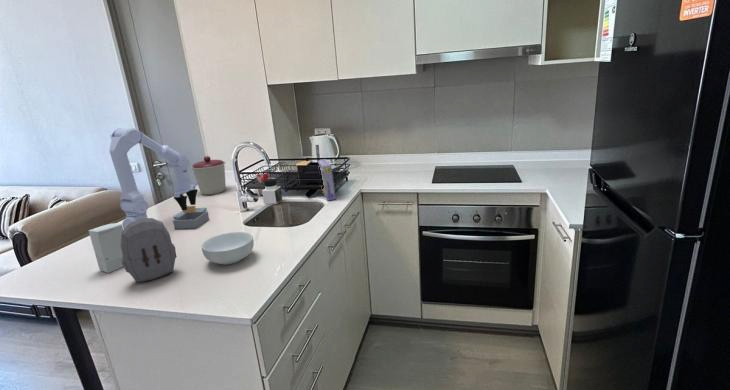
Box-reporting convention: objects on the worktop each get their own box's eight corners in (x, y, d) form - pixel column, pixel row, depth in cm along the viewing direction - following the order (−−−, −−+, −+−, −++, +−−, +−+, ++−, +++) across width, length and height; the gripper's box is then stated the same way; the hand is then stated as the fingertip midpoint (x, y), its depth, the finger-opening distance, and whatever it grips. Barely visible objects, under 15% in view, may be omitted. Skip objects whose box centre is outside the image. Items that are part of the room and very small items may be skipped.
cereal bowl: (261, 261, 128) (258, 242, 126) (209, 276, 120) (205, 256, 118) (249, 244, 142) (246, 227, 140) (202, 257, 135) (198, 238, 133)
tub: (196, 228, 163) (194, 220, 162) (174, 229, 164) (172, 220, 163) (209, 219, 173) (207, 211, 172) (188, 220, 174) (186, 212, 173)
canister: (219, 197, 209) (212, 159, 203) (190, 197, 212) (182, 160, 206) (236, 187, 226) (229, 152, 220) (208, 188, 229) (201, 153, 223)
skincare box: (108, 273, 127) (96, 232, 123) (98, 270, 130) (86, 230, 126) (133, 262, 134) (122, 223, 130) (123, 260, 137) (112, 221, 133)
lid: (194, 219, 177) (192, 210, 176) (173, 219, 178) (171, 211, 177) (207, 210, 188) (205, 202, 187) (186, 211, 189) (185, 203, 188)
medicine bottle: (276, 204, 189) (273, 180, 185) (263, 204, 190) (259, 180, 187) (282, 199, 196) (279, 176, 192) (269, 199, 197) (266, 177, 194)
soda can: (256, 195, 206) (252, 174, 203) (265, 192, 212) (262, 170, 208) (266, 196, 203) (262, 174, 199) (275, 192, 209) (272, 171, 205)
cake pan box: (320, 191, 205) (317, 159, 200) (330, 190, 206) (326, 158, 201) (326, 201, 187) (322, 166, 182) (336, 200, 188) (333, 165, 183)
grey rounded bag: (177, 265, 130) (164, 209, 124) (183, 274, 123) (169, 215, 117) (127, 281, 121) (110, 222, 116) (130, 291, 115) (112, 229, 109)
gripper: (182, 183, 171) (188, 212, 175) (199, 175, 184) (204, 202, 188) (167, 184, 172) (174, 212, 175) (185, 176, 185) (191, 202, 189)
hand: (188, 207), depth 182 cm, fingers open, 7 cm apart
